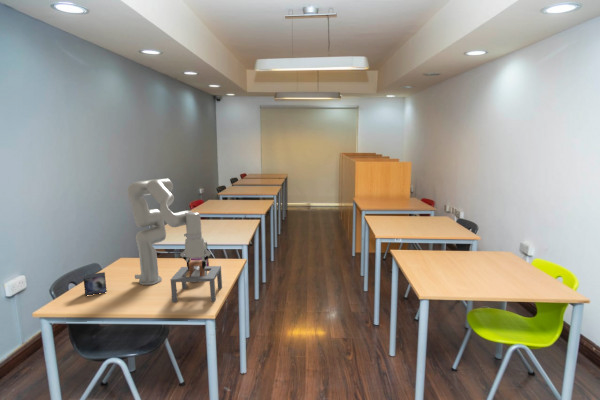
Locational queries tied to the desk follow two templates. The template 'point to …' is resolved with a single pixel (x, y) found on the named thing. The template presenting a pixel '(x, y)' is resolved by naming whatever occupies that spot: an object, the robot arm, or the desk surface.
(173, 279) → the grey square frame
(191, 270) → the u-shaped wooden block
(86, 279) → the small box
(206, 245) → the candy bar box
